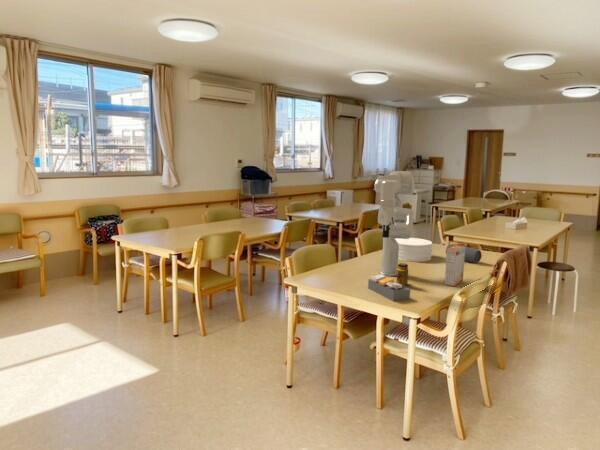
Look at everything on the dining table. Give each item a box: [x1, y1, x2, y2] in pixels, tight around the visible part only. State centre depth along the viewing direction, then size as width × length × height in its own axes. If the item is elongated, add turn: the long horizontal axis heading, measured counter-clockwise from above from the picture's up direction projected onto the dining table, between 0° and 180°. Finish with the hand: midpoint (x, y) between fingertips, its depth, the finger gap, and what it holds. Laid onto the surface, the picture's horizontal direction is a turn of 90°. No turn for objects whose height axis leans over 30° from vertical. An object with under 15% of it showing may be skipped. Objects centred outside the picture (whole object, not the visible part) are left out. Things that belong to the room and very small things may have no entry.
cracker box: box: [444, 244, 466, 287], centre depth 258 cm, size 14×6×21 cm, turn 141°
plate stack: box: [395, 237, 433, 262], centre depth 323 cm, size 28×28×12 cm
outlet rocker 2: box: [378, 276, 395, 286], centre depth 236 cm, size 6×4×2 cm
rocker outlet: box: [386, 282, 402, 289], centre depth 229 cm, size 6×4×2 cm
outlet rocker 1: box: [370, 273, 387, 282], centre depth 242 cm, size 6×4×2 cm
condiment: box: [396, 262, 412, 288], centre depth 253 cm, size 7×8×12 cm
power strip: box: [367, 278, 411, 302], centre depth 237 cm, size 10×23×5 cm, turn 24°
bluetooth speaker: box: [445, 244, 483, 263], centre depth 315 cm, size 23×9×10 cm, turn 37°
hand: (385, 237), depth 248 cm, fingers closed
